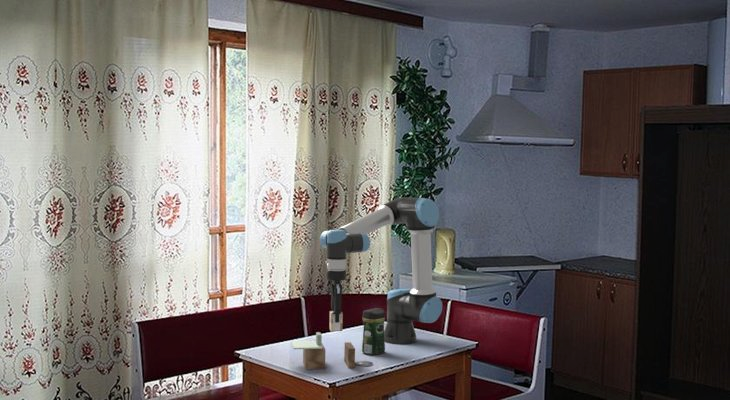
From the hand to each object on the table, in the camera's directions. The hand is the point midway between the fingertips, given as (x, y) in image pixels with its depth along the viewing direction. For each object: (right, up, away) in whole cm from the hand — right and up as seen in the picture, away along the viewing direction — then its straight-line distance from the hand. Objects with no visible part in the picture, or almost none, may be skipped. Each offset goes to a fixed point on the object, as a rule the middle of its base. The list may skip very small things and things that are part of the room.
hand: (335, 328), depth 308 cm
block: (0, 0, 0) cm, 0 cm away
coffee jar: (+15, -14, +21) cm, 29 cm away
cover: (-11, -6, -2) cm, 13 cm away
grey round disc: (+11, -14, +2) cm, 18 cm away
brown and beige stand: (-3, -14, 0) cm, 14 cm away
